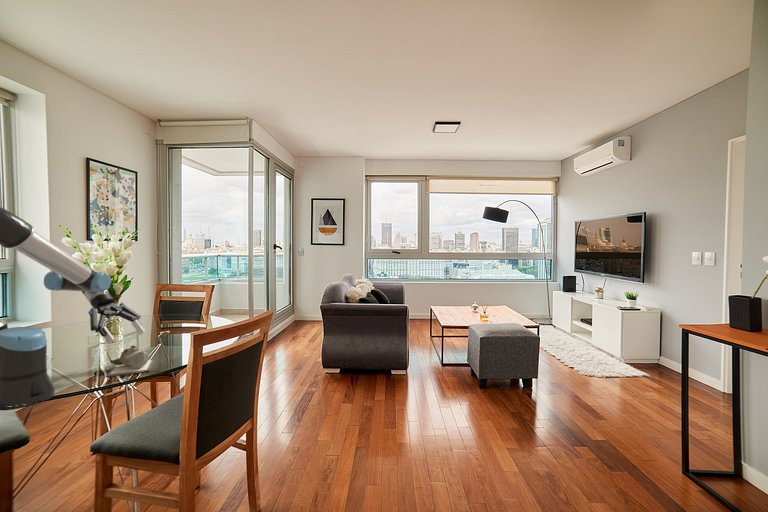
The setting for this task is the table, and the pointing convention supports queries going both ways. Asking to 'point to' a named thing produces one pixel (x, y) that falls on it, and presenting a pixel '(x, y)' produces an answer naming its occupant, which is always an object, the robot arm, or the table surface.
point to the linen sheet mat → (128, 369)
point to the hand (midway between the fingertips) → (127, 337)
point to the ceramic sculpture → (132, 358)
